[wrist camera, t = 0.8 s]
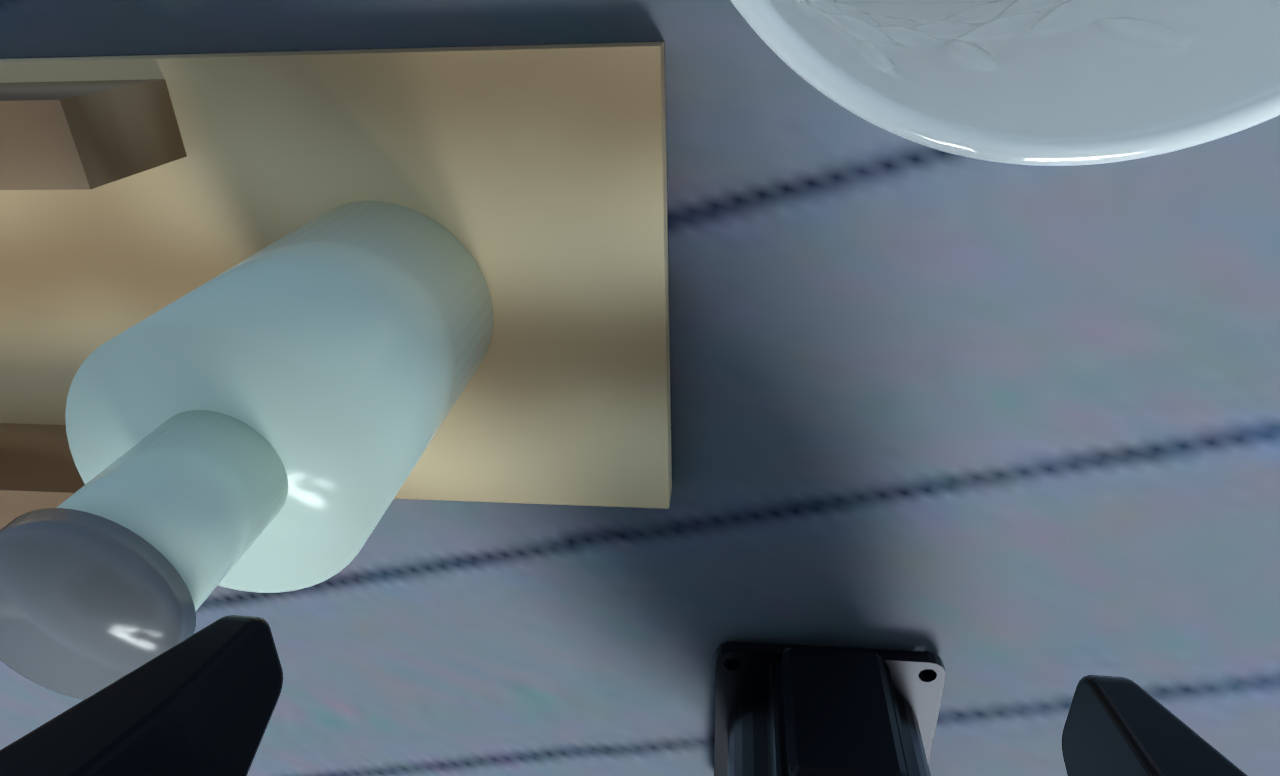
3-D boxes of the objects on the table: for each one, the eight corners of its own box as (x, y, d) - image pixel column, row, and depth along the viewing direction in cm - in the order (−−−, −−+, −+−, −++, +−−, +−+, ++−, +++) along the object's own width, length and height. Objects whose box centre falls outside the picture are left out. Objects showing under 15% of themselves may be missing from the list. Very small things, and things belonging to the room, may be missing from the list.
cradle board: (672, 486, 22) (656, 603, 18) (-95, 460, 24) (-258, 556, 20) (664, 41, 17) (641, 64, 13) (-304, 67, 19) (-578, 93, 15)
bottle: (504, 402, 20) (304, 777, 11) (311, 398, 20) (-38, 750, 11) (479, 200, 18) (196, 455, 8) (262, 201, 18) (-228, 442, 9)
